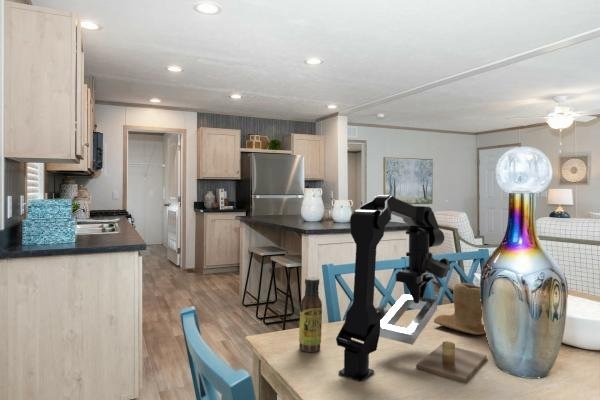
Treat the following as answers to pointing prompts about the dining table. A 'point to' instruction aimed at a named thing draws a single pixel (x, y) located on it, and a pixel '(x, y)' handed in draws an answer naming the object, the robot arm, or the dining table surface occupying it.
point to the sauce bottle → (310, 317)
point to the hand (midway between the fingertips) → (418, 302)
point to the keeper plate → (455, 371)
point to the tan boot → (464, 310)
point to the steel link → (418, 323)
